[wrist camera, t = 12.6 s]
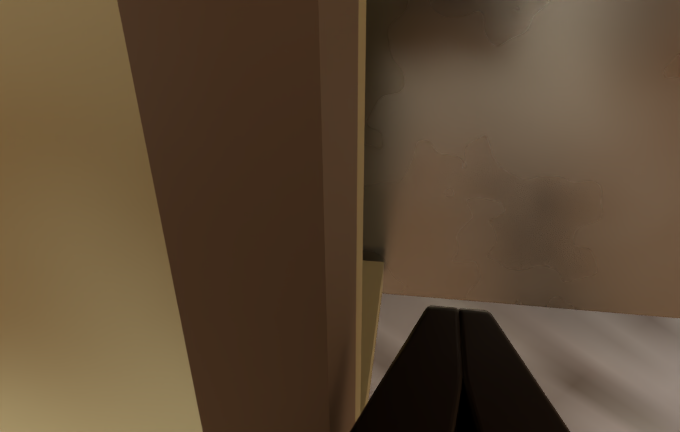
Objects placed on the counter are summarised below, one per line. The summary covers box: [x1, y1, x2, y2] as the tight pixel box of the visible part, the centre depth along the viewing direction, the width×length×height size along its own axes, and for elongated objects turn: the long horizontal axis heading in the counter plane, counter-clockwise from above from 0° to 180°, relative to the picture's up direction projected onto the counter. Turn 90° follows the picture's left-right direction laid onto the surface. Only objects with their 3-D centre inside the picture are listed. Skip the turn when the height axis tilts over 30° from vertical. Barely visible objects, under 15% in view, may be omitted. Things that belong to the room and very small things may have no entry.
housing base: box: [363, 0, 680, 318], centre depth 14 cm, size 11×20×4 cm, turn 91°
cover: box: [0, 0, 384, 432], centre depth 11 cm, size 10×7×9 cm
